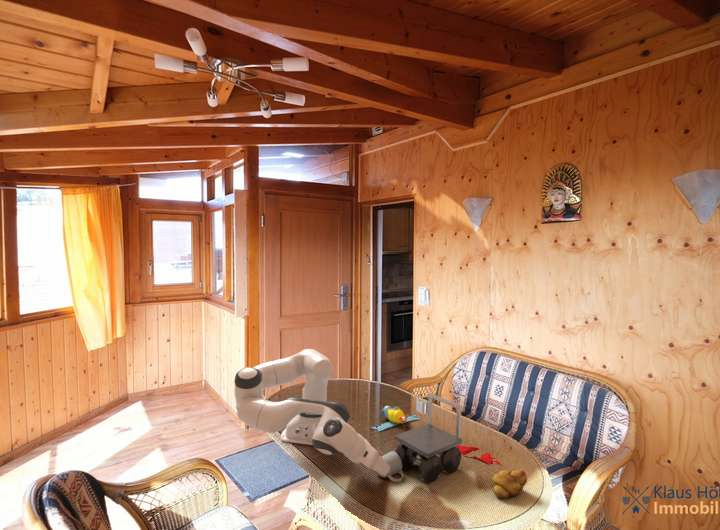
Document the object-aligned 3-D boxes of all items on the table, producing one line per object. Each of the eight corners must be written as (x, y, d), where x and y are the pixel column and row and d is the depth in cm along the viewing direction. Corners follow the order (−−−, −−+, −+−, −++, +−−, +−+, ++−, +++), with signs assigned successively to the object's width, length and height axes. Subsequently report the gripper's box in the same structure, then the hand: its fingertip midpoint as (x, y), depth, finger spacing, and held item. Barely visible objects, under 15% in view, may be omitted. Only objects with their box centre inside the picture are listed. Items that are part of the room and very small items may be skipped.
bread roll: (504, 505, 140) (504, 481, 139) (482, 490, 148) (483, 468, 148) (529, 494, 146) (530, 471, 145) (507, 480, 154) (508, 459, 154)
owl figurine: (381, 417, 191) (362, 408, 203) (381, 436, 191) (363, 425, 203) (426, 404, 207) (406, 396, 219) (426, 421, 207) (406, 412, 219)
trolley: (425, 489, 148) (426, 418, 147) (392, 467, 163) (392, 403, 162) (463, 470, 161) (464, 405, 160) (429, 452, 175) (430, 392, 174)
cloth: (511, 463, 167) (511, 458, 167) (489, 474, 159) (489, 468, 159) (460, 439, 189) (460, 434, 188) (439, 447, 180) (439, 442, 180)
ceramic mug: (373, 473, 159) (373, 454, 158) (389, 466, 164) (389, 447, 163) (392, 486, 150) (393, 466, 150) (408, 478, 156) (408, 458, 155)
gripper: (336, 445, 156) (357, 463, 162) (369, 469, 140) (391, 487, 146) (346, 431, 158) (366, 448, 165) (380, 452, 142) (401, 471, 148)
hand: (378, 467), depth 155 cm, fingers closed
